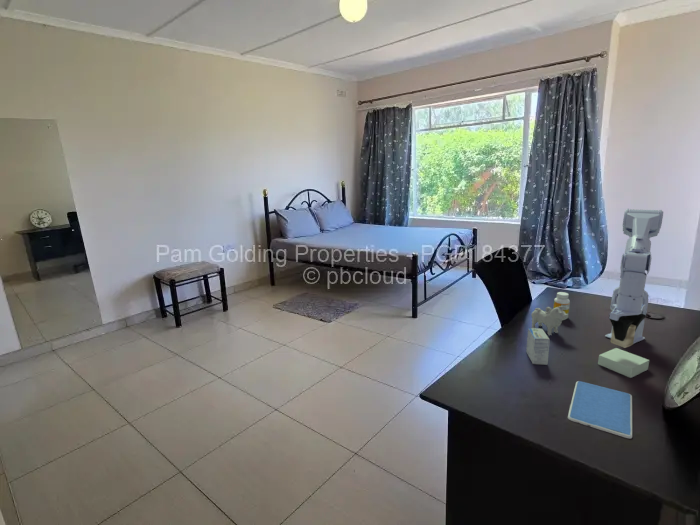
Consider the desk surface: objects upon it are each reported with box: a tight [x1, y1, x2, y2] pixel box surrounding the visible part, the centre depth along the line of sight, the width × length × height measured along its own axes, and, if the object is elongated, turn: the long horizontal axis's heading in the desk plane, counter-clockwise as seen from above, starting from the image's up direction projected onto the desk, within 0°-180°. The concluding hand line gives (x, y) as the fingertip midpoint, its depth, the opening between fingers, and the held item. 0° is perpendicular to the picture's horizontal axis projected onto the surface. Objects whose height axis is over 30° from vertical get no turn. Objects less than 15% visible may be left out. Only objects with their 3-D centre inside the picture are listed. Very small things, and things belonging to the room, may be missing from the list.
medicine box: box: [525, 327, 551, 366], centre depth 117 cm, size 8×4×9 cm, turn 168°
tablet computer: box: [567, 380, 633, 439], centre depth 94 cm, size 19×13×1 cm, turn 144°
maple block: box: [610, 324, 636, 349], centre depth 110 cm, size 4×4×6 cm
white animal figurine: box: [530, 306, 569, 336], centre depth 135 cm, size 5×13×11 cm, turn 28°
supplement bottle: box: [552, 291, 571, 315], centre depth 148 cm, size 5×5×10 cm
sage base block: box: [597, 347, 650, 379], centre depth 111 cm, size 9×9×3 cm
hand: (623, 337), depth 110 cm, fingers closed on maple block, 4 cm apart
